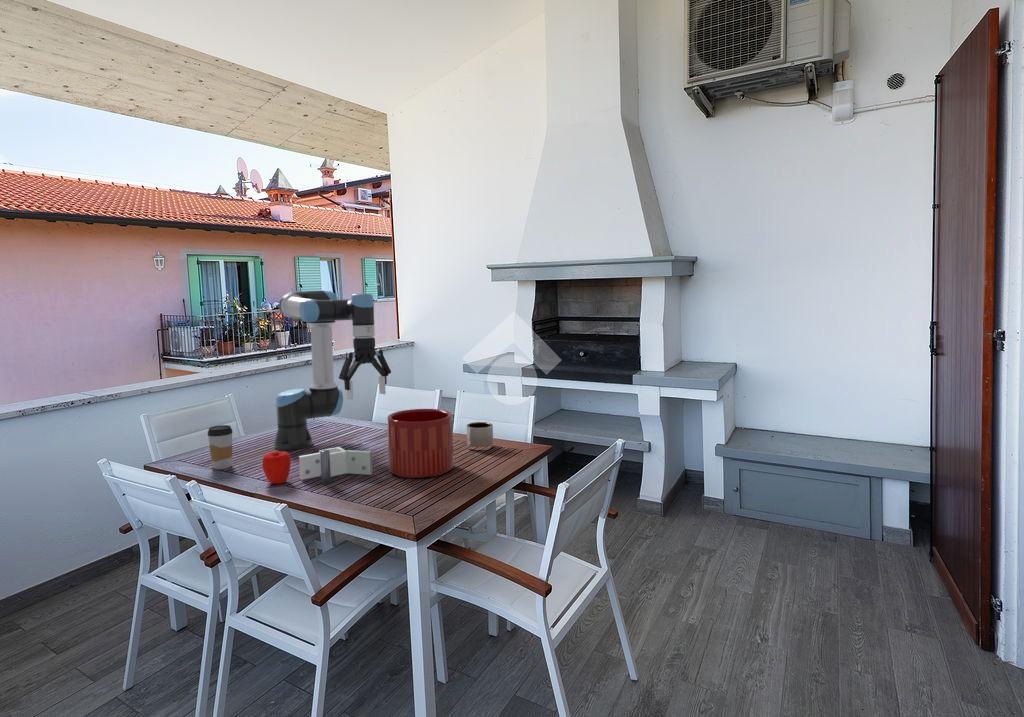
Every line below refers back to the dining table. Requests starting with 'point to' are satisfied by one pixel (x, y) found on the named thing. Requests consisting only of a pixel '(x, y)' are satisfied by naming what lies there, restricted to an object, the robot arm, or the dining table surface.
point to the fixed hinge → (312, 463)
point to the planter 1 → (420, 442)
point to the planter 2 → (479, 434)
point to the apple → (277, 466)
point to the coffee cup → (220, 446)
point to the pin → (325, 466)
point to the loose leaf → (359, 462)
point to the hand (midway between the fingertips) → (366, 396)
